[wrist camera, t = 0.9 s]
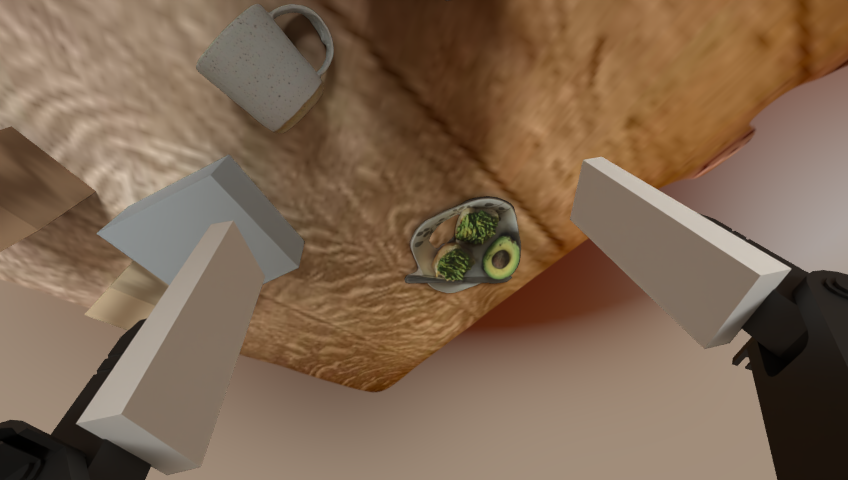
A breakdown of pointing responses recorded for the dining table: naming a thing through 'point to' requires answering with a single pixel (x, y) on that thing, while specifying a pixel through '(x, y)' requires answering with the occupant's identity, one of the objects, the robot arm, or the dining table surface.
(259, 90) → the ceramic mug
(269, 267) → the slate block
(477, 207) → the salad plate
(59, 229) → the dining table surface
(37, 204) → the walnut cube
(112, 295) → the maple cube
